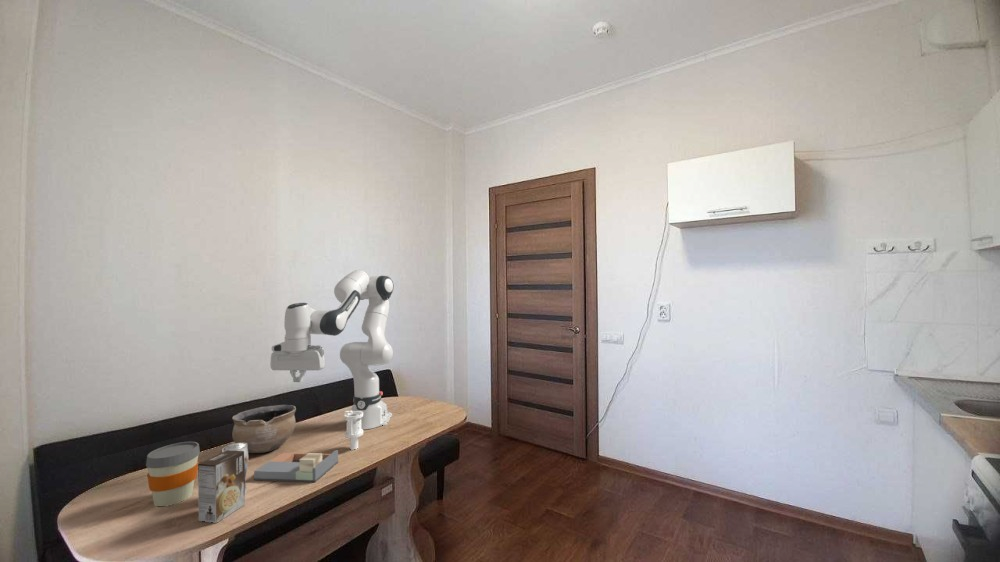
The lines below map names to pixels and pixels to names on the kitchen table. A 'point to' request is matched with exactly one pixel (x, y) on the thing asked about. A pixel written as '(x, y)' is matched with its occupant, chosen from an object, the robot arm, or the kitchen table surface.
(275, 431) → the ceramic bowl
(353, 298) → the robot arm
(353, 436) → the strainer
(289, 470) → the board
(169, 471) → the reusable coffee cup
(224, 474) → the coffee box
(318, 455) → the birch block
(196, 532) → the kitchen table surface
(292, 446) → the kitchen table surface
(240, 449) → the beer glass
